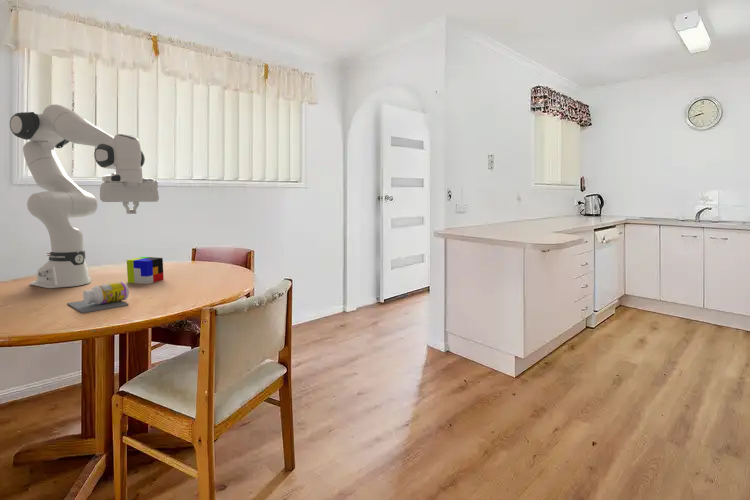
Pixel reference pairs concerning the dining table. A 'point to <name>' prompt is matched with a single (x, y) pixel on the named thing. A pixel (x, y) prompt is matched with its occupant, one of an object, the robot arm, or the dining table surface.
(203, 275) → the dining table surface
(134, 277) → the puzzle toy
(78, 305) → the mat
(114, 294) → the supplement bottle
